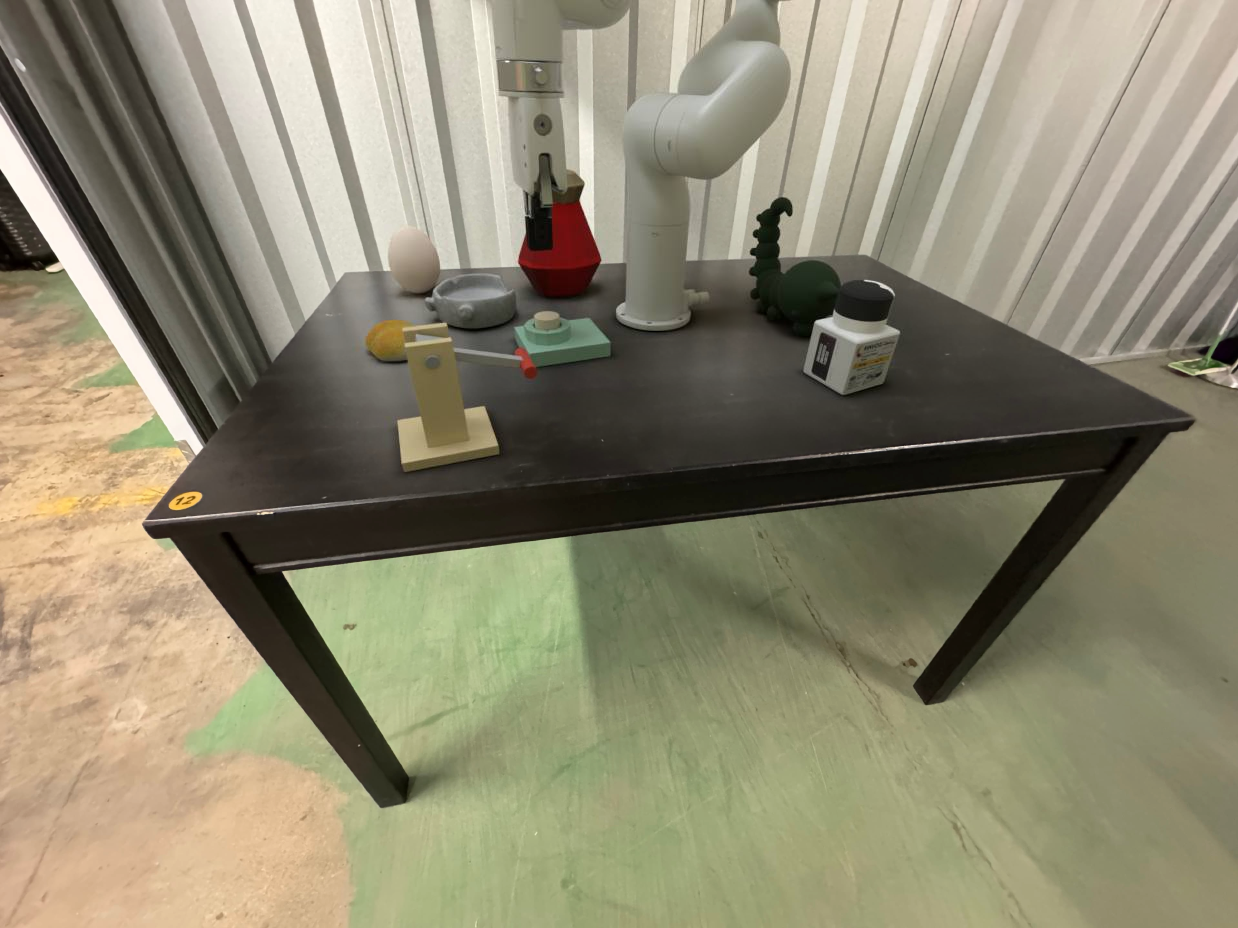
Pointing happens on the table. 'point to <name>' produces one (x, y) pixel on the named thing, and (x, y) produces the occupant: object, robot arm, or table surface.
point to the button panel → (562, 342)
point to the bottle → (564, 248)
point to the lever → (492, 357)
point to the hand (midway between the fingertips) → (540, 248)
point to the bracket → (440, 407)
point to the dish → (473, 301)
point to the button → (547, 320)
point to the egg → (413, 260)
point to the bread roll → (388, 340)
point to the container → (854, 339)
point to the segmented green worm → (790, 277)
